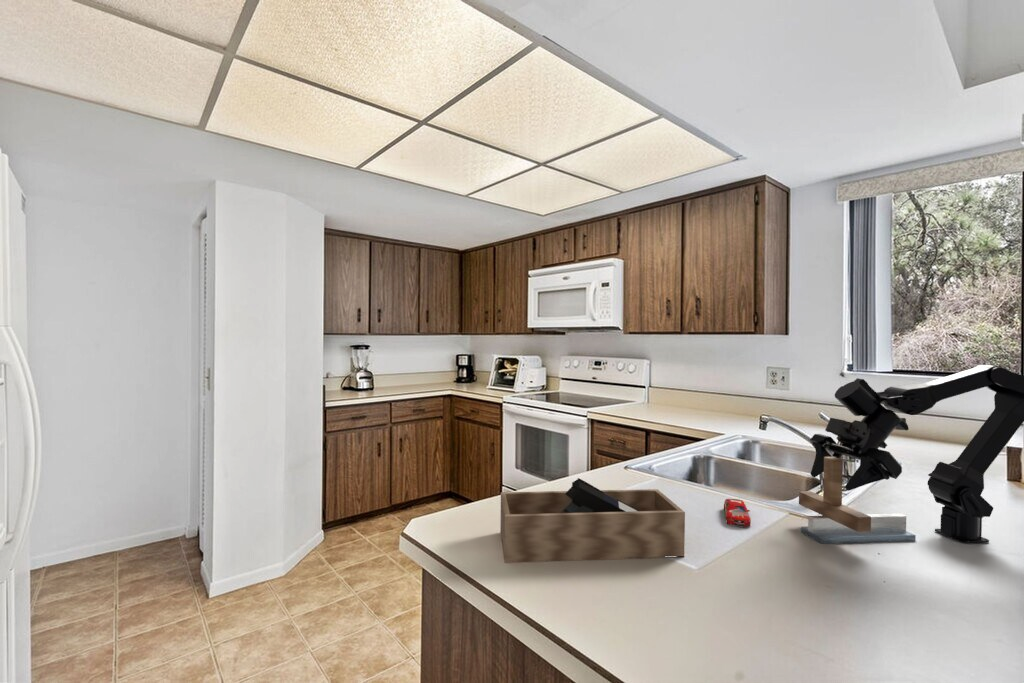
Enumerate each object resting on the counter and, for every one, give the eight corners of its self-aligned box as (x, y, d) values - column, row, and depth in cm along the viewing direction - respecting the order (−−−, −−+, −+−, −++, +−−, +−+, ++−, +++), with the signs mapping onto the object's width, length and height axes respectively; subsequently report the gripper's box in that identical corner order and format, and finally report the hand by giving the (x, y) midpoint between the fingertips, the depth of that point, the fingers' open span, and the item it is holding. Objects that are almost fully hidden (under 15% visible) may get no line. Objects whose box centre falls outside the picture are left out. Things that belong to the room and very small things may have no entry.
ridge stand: (891, 529, 109) (891, 509, 109) (915, 540, 103) (915, 520, 103) (800, 531, 107) (801, 512, 107) (820, 543, 101) (820, 522, 101)
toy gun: (632, 585, 102) (661, 521, 104) (544, 545, 96) (577, 477, 98) (623, 578, 106) (652, 516, 108) (538, 538, 99) (570, 473, 101)
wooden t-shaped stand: (798, 504, 112) (799, 449, 112) (810, 503, 113) (811, 449, 113) (858, 532, 97) (859, 468, 96) (870, 531, 97) (872, 468, 97)
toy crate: (657, 528, 109) (657, 489, 108) (684, 556, 95) (684, 512, 95) (500, 532, 106) (500, 492, 105) (504, 562, 92) (505, 516, 92)
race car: (751, 531, 108) (752, 514, 108) (725, 527, 110) (726, 510, 110) (746, 511, 120) (746, 495, 120) (723, 508, 122) (723, 492, 122)
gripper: (817, 400, 114) (775, 447, 113) (891, 412, 96) (843, 469, 94) (844, 431, 116) (804, 478, 114) (923, 450, 97) (876, 506, 96)
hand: (828, 482), depth 104 cm, fingers open, 9 cm apart
